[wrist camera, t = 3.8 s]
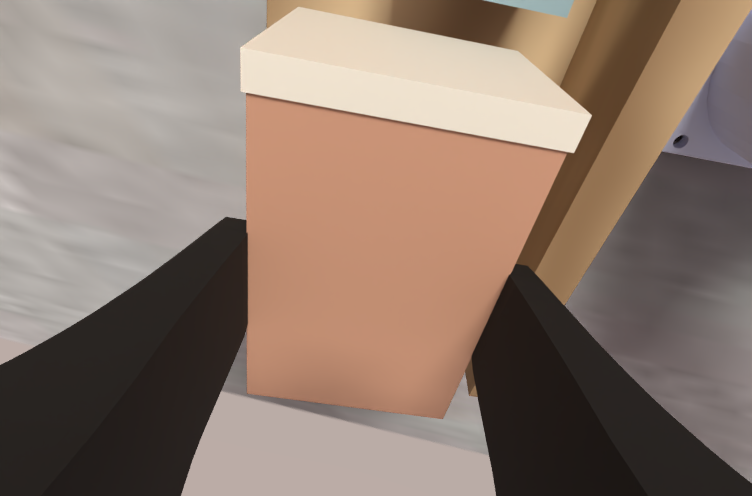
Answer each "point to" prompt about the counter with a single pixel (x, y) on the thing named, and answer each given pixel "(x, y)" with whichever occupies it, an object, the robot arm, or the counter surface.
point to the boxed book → (386, 204)
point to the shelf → (583, 96)
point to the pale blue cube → (541, 5)
